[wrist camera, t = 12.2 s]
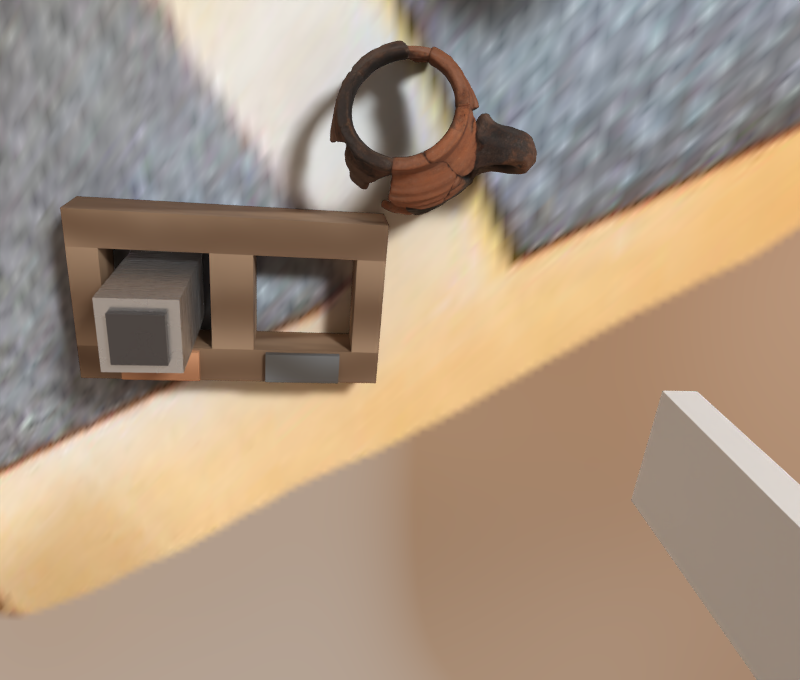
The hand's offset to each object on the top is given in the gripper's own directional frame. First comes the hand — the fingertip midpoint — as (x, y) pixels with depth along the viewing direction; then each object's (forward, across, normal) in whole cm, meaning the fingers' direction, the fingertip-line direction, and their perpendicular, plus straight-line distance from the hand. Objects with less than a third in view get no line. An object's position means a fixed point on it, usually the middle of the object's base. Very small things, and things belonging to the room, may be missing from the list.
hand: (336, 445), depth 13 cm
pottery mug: (+32, +7, +2) cm, 33 cm away
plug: (+32, -9, -8) cm, 34 cm away
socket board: (+32, -5, -8) cm, 33 cm away
